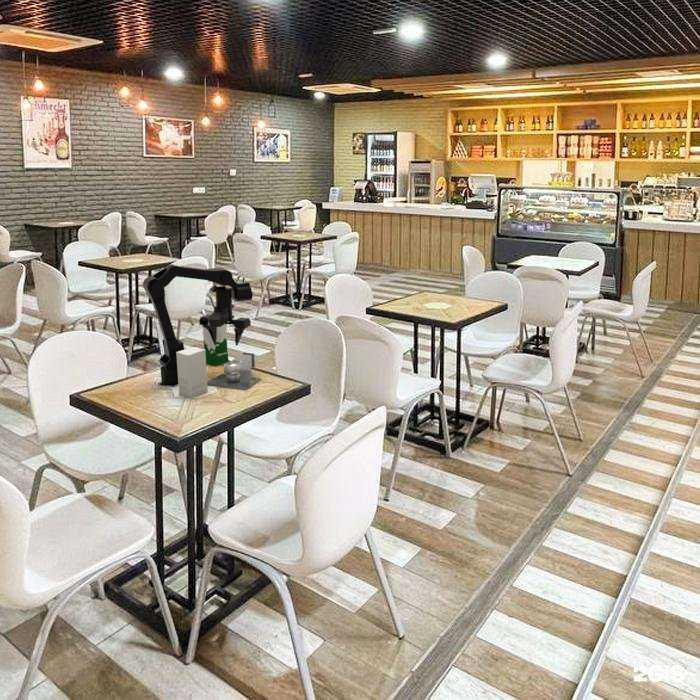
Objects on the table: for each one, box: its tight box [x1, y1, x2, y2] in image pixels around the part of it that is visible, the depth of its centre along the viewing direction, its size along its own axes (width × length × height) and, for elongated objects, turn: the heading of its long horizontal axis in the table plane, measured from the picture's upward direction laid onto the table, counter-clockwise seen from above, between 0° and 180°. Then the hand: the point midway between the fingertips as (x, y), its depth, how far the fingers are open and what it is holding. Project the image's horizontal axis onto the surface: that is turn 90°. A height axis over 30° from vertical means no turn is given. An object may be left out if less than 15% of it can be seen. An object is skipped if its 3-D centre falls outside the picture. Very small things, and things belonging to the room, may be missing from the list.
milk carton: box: [201, 324, 230, 367], centre depth 286 cm, size 9×9×20 cm
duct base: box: [207, 368, 261, 391], centre depth 263 cm, size 16×12×6 cm
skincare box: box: [176, 346, 208, 399], centre depth 250 cm, size 8×7×16 cm
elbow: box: [223, 352, 256, 374], centre depth 267 cm, size 16×6×5 cm, turn 161°
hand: (225, 344), depth 270 cm, fingers open, 9 cm apart
